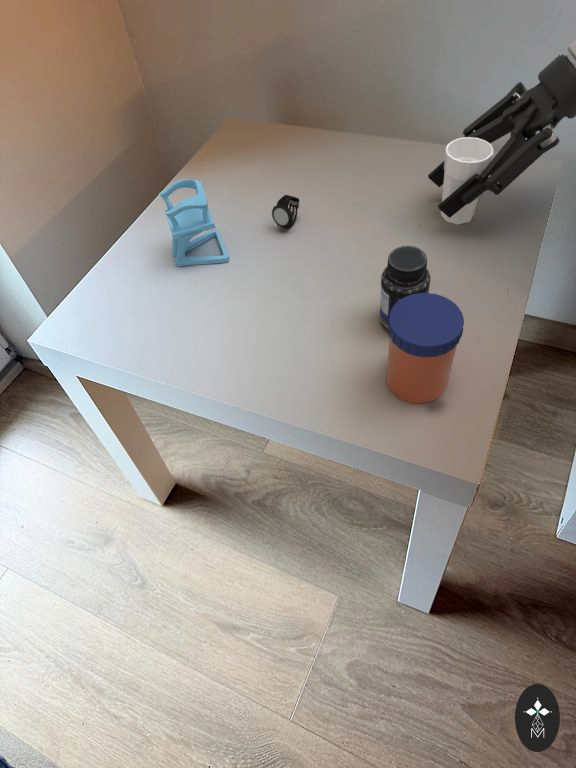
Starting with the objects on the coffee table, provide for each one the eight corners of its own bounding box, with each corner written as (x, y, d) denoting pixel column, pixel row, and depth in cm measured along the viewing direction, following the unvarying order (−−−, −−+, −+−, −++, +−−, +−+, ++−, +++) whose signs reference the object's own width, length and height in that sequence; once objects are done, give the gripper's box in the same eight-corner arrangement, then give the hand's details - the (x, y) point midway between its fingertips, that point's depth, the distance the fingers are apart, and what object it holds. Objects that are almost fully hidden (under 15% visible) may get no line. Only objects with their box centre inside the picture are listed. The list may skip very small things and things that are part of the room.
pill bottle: (431, 313, 74) (442, 250, 65) (412, 343, 71) (421, 281, 62) (390, 298, 76) (395, 236, 68) (370, 327, 74) (373, 265, 65)
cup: (477, 201, 87) (491, 136, 79) (480, 227, 84) (495, 162, 75) (436, 201, 88) (445, 137, 80) (436, 226, 85) (446, 162, 76)
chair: (170, 246, 88) (148, 181, 79) (218, 232, 89) (202, 166, 79) (178, 276, 84) (156, 211, 74) (230, 261, 85) (214, 195, 75)
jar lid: (475, 325, 60) (479, 313, 59) (434, 369, 57) (436, 358, 56) (415, 294, 64) (417, 282, 62) (373, 334, 61) (374, 323, 59)
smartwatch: (270, 226, 89) (266, 200, 85) (295, 213, 90) (292, 186, 86) (285, 238, 87) (282, 211, 83) (310, 224, 88) (308, 197, 84)
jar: (459, 375, 68) (475, 317, 59) (424, 414, 65) (435, 359, 56) (409, 346, 71) (417, 287, 63) (373, 382, 68) (376, 325, 60)
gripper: (625, 132, 65) (467, 250, 79) (569, 59, 77) (440, 172, 91) (597, 92, 61) (436, 224, 75) (541, 22, 73) (411, 146, 87)
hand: (438, 196), depth 83 cm, fingers open, 7 cm apart
